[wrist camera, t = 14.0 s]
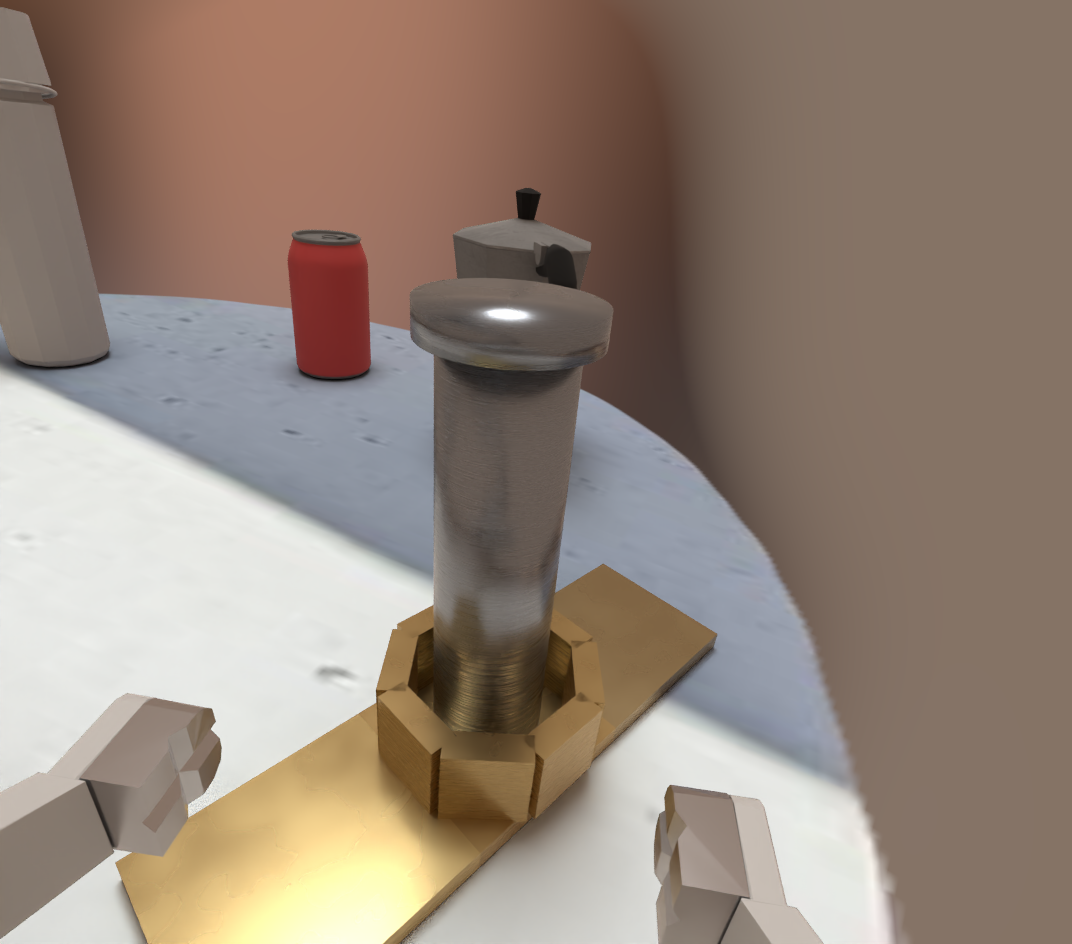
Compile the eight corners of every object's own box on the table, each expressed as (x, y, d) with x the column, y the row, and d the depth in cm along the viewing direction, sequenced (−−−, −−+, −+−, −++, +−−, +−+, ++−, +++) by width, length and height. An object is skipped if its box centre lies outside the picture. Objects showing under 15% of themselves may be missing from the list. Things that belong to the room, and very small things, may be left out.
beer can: (385, 372, 58) (382, 239, 52) (326, 387, 53) (316, 243, 48) (342, 354, 61) (335, 227, 56) (282, 366, 56) (268, 229, 51)
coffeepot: (432, 412, 51) (437, 173, 42) (539, 409, 54) (563, 185, 45) (470, 509, 38) (488, 196, 29) (608, 499, 41) (660, 211, 32)
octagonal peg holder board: (224, 1132, 14) (196, 1062, 12) (117, 867, 18) (85, 788, 17) (720, 651, 29) (741, 588, 27) (595, 571, 34) (605, 513, 32)
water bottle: (127, 362, 54) (48, 14, 42) (14, 376, 49) (-112, -14, 37) (101, 334, 59) (25, 20, 48) (-3, 345, 54) (-117, -3, 42)
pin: (480, 815, 20) (510, 340, 12) (389, 717, 23) (368, 288, 15) (581, 725, 23) (653, 310, 16) (490, 650, 26) (514, 272, 19)
